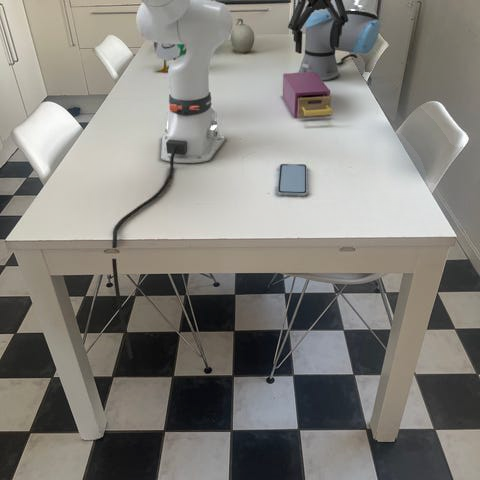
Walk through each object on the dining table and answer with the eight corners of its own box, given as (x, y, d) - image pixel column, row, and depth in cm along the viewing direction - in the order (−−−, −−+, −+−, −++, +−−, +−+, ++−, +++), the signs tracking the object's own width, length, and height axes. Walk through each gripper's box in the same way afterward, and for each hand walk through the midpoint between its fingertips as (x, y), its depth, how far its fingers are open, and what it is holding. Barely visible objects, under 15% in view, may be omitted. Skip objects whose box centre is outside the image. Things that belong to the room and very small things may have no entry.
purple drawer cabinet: (328, 115, 168) (330, 90, 164) (294, 117, 167) (295, 93, 163) (313, 94, 185) (315, 71, 180) (282, 96, 184) (283, 73, 179)
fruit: (247, 46, 238) (247, 12, 230) (258, 52, 229) (258, 17, 221) (227, 49, 235) (225, 14, 226) (236, 55, 226) (235, 19, 218)
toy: (155, 65, 218) (148, 2, 203) (198, 69, 211) (194, 5, 197) (145, 70, 212) (137, 6, 198) (190, 75, 205) (185, 9, 191)
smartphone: (277, 192, 126) (279, 163, 138) (277, 196, 127) (279, 166, 139) (307, 193, 125) (307, 164, 137) (307, 196, 126) (306, 167, 138)
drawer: (334, 122, 161) (335, 103, 157) (302, 125, 160) (303, 106, 156) (315, 96, 180) (316, 78, 177) (286, 97, 180) (287, 80, 176)
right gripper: (350, -31, 158) (343, 41, 170) (277, -23, 150) (276, 52, 162) (364, -27, 152) (356, 46, 165) (290, -19, 144) (288, 58, 157)
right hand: (317, 49), depth 163 cm, fingers open, 13 cm apart
